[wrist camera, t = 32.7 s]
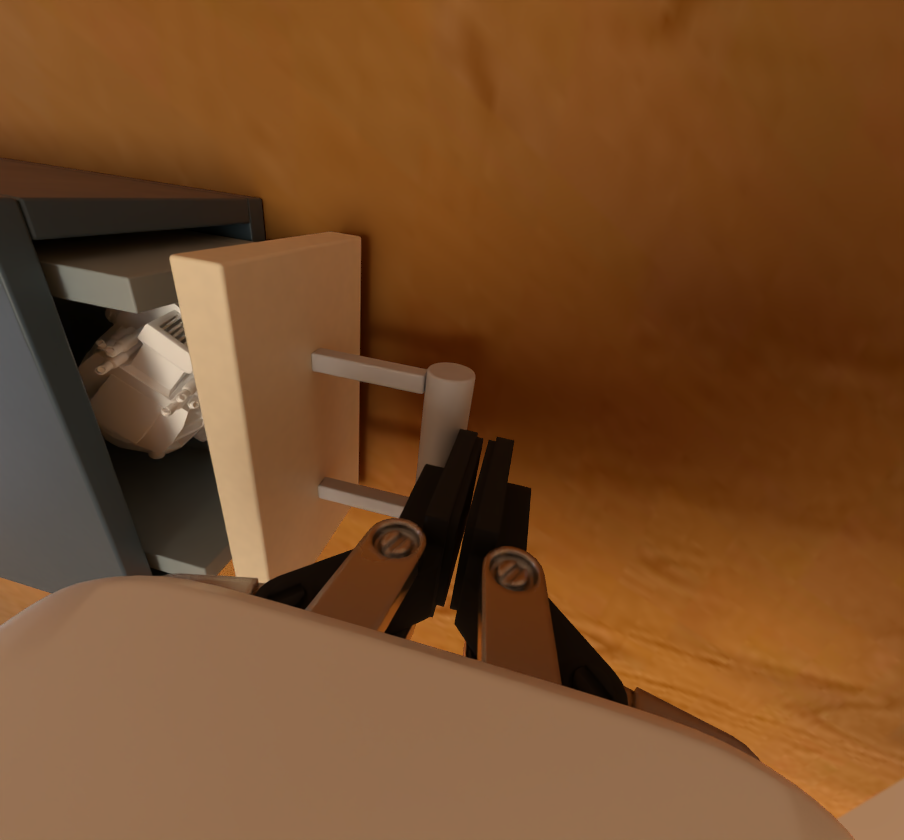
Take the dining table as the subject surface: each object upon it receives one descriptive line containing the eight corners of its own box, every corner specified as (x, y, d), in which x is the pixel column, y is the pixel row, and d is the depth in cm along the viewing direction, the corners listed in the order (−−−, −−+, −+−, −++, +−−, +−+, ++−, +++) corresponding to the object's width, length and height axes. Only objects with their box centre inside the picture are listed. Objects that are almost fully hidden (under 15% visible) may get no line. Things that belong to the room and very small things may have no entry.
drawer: (505, 259, 13) (467, 308, 7) (459, 521, 19) (416, 666, 13) (5, 177, 16) (-324, 165, 10) (97, 430, 21) (-76, 518, 15)
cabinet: (262, 198, 15) (-31, 197, 7) (288, 474, 21) (144, 624, 14) (-84, 144, 17) (-586, 101, 9) (34, 411, 23) (-211, 511, 16)
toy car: (298, 345, 15) (243, 416, 12) (202, 446, 19) (141, 521, 15) (170, 241, 13) (61, 293, 10) (92, 378, 17) (-4, 448, 13)
